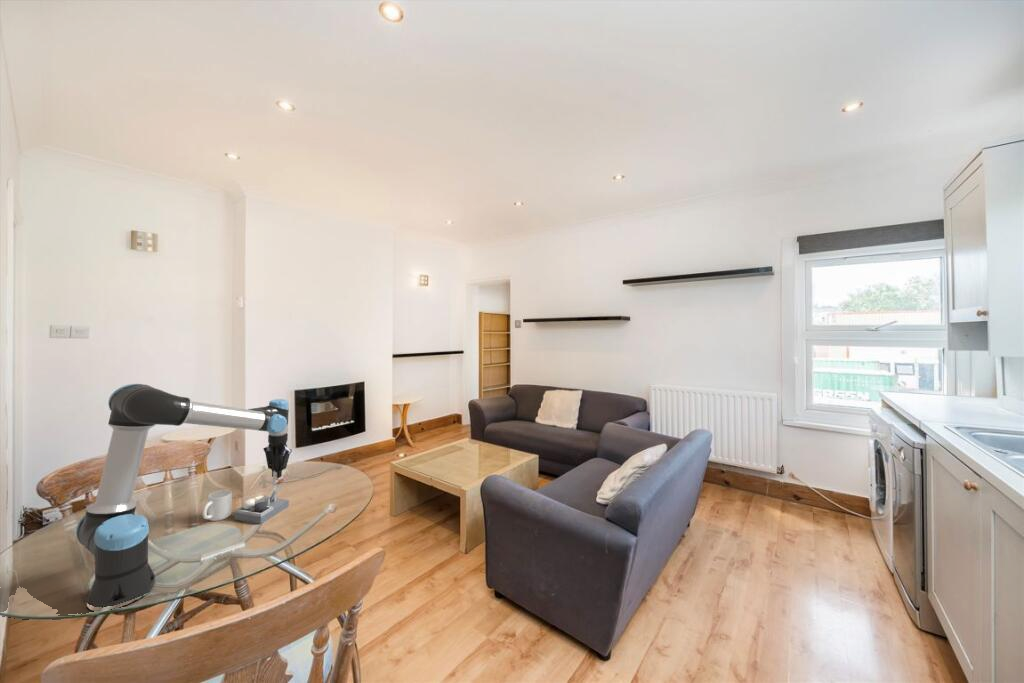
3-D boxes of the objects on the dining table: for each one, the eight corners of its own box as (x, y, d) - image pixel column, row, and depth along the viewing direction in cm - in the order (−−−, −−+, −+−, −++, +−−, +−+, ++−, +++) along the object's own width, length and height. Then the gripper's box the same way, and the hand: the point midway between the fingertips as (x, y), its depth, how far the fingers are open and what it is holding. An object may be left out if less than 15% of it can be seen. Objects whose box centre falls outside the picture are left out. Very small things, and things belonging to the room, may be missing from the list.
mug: (210, 527, 157) (211, 503, 156) (194, 524, 158) (194, 500, 158) (236, 513, 169) (236, 490, 168) (220, 510, 170) (220, 488, 170)
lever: (269, 503, 173) (280, 481, 171) (266, 501, 173) (278, 479, 171) (272, 501, 175) (284, 479, 173) (270, 500, 175) (281, 478, 173)
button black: (260, 514, 163) (260, 507, 163) (252, 512, 164) (252, 505, 163) (269, 509, 167) (269, 502, 167) (260, 507, 168) (260, 501, 168)
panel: (260, 524, 162) (261, 510, 161) (234, 519, 164) (235, 506, 163) (288, 506, 177) (289, 494, 177) (264, 502, 180) (265, 490, 179)
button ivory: (248, 509, 164) (249, 502, 164) (240, 508, 165) (240, 501, 164) (257, 504, 168) (257, 498, 168) (248, 503, 169) (248, 496, 169)
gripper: (296, 432, 174) (295, 482, 175) (272, 429, 176) (270, 478, 177) (284, 437, 167) (282, 489, 168) (258, 434, 169) (257, 485, 170)
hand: (276, 484), depth 173 cm, fingers closed
